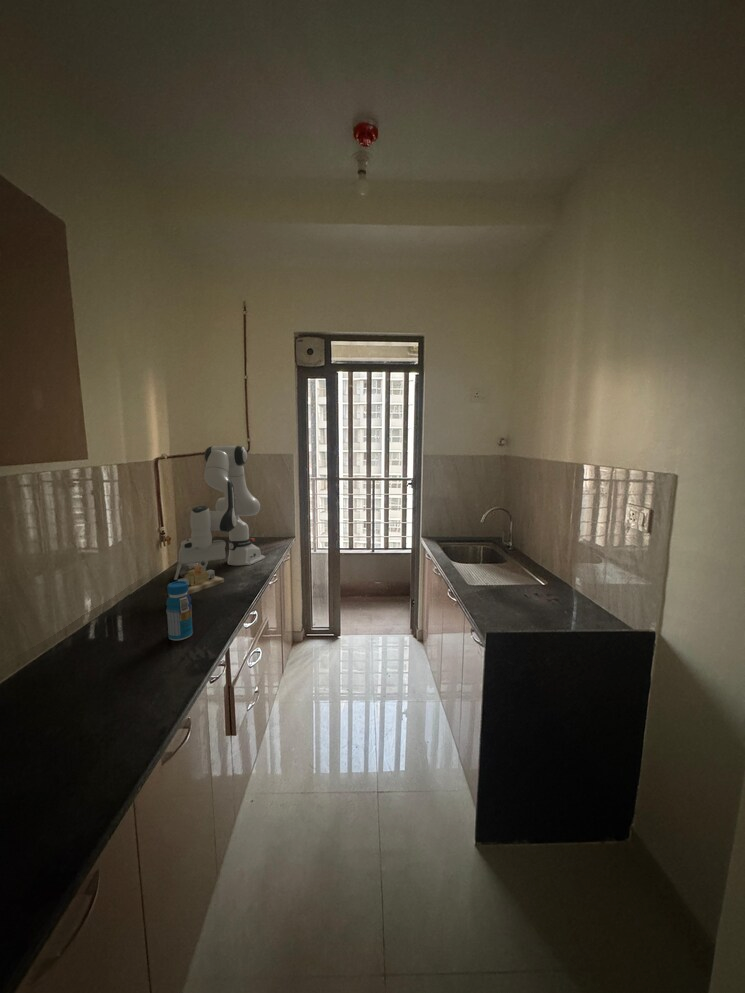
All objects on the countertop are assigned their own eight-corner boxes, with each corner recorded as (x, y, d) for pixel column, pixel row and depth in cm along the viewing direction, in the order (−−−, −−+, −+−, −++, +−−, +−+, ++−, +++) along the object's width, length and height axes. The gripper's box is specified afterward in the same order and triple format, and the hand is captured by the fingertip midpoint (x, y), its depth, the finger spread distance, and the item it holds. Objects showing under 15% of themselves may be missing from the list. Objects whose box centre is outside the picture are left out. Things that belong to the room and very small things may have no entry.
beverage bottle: (165, 642, 140) (161, 589, 137) (170, 631, 148) (167, 580, 145) (191, 639, 142) (188, 586, 139) (195, 629, 150) (192, 578, 147)
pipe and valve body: (209, 576, 203) (208, 561, 201) (216, 578, 200) (215, 562, 199) (176, 587, 187) (175, 570, 186) (183, 589, 185) (182, 572, 183)
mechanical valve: (202, 568, 212) (191, 553, 201) (193, 599, 200) (181, 584, 189) (183, 570, 212) (171, 554, 201) (173, 600, 200) (160, 586, 189)
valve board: (209, 577, 206) (208, 574, 206) (224, 582, 200) (223, 578, 200) (168, 591, 188) (168, 587, 187) (184, 596, 181) (183, 592, 181)
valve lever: (193, 567, 193) (192, 561, 193) (199, 566, 194) (198, 560, 194) (195, 575, 181) (194, 569, 181) (201, 574, 183) (201, 568, 182)
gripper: (224, 537, 190) (225, 565, 192) (177, 542, 181) (179, 571, 183) (226, 540, 185) (227, 569, 187) (177, 545, 176) (179, 575, 178)
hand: (203, 570), depth 185 cm, fingers closed
